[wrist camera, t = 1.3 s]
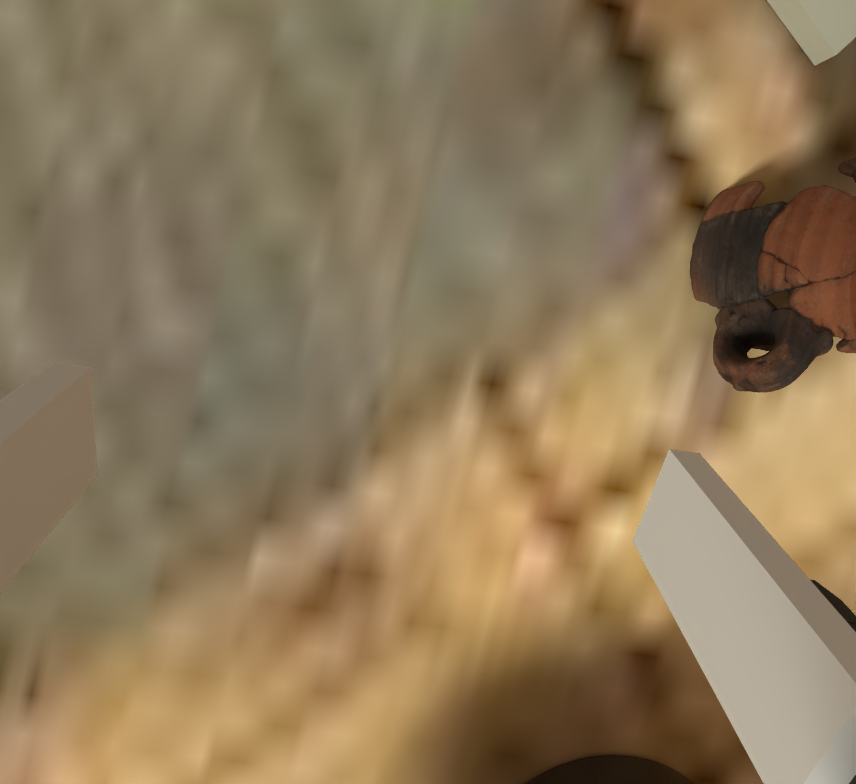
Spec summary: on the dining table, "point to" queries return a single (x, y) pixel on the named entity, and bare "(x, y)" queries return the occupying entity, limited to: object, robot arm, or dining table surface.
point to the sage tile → (818, 25)
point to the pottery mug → (777, 280)
